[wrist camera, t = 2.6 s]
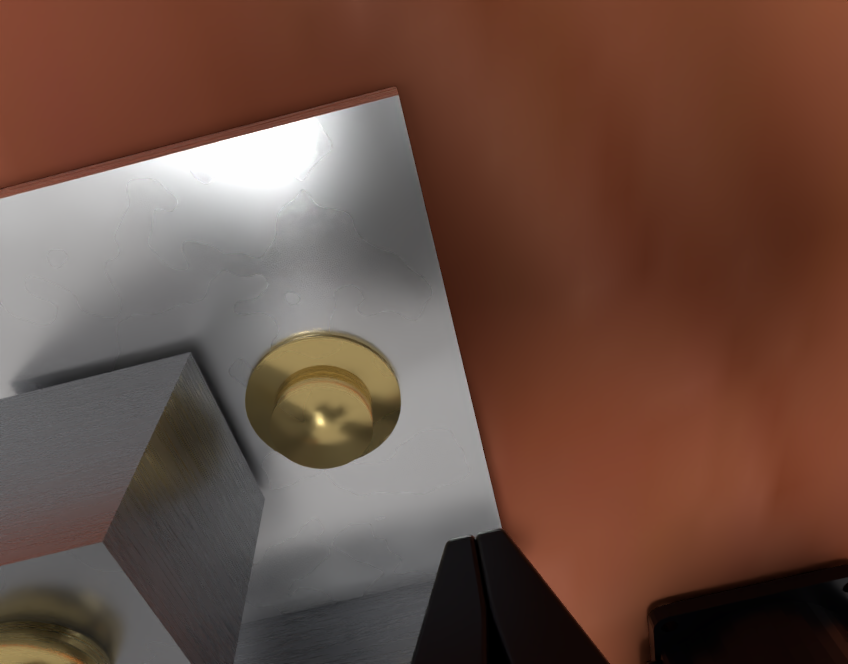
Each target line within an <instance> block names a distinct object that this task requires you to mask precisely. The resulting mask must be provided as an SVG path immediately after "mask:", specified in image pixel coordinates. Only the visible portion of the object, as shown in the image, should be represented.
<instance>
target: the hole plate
mask: <svg viewBox="0 0 848 664" xmlns="http://www.w3.org/2000/svg"><path fill="white" fill-rule="evenodd" d="M189 352H191V353H192V355H193V357H194V359H195V361H196V363H197V365H198V367H199V369H200V371H201V373H202V375H203V377H204V379H205V381H206V383H207V385H208V387H209V389H210V391H211V393H212V395H213V397H214V399H215V401H216V403H217V405H218V407H219V409H220V411H221V413H222V415H223V416H224V418H225V420H226V422H227V424H228V426H229V428H230V430H231V432H232V434H233V436H234V438H235V440H236V442H237V444H238V446H239V448H240V450H241V452H242V454H243V456H244V458H245V460H246V462H247V464H248V466H249V468H250V470H251V472H252V474H253V476H254V478H255V480H256V482H257V484H258V486H259V488H260V490H261V492H262V494H263V496H264V498H265V501H264V507H263V512H262V517H261V522H260V528H259V533H258V538H257V543H256V548H255V554H254V559H253V564H252V569H251V575H250V580H249V585H248V590H247V596H246V601H245V606H244V611H243V617H242V622H241V627H240V632H239V637H238V643H237V648H236V653H235V658H234V664H410V663H411V660H412V656H413V653H414V649H415V646H416V642H417V639H418V636H419V632H420V629H421V625H422V622H423V619H424V615H425V612H426V608H427V605H428V601H429V598H430V595H431V591H432V588H433V584H434V581H435V577H436V574H437V571H438V567H439V564H440V560H441V557H442V553H443V550H444V547H445V544H446V542H447V541H448V540H449V539H452V538H457V537H461V536H466V535H473V536H474V537H475V539H476V535H477V534H478V533H479V532H483V531H487V530H492V529H496V528H502V527H501V522H500V518H499V514H498V510H497V506H496V501H495V497H494V493H493V489H492V485H491V480H490V476H489V472H488V468H487V464H486V459H485V455H484V451H483V447H482V443H481V439H480V434H479V430H478V426H477V422H476V418H475V413H474V409H473V405H472V401H471V397H470V392H469V388H468V384H467V380H466V376H465V371H464V367H463V363H462V359H461V355H460V350H459V346H458V342H457V338H456V334H455V329H454V325H453V321H452V317H451V313H450V308H449V304H448V300H447V296H446V292H445V288H444V283H443V279H442V275H441V271H440V267H439V262H438V258H437V254H436V250H435V246H434V241H433V237H432V233H431V229H430V225H429V220H428V216H427V212H426V208H425V204H424V199H423V195H422V191H421V187H420V183H419V178H418V174H417V170H416V166H415V162H414V157H413V153H412V149H411V145H410V141H409V137H408V132H407V128H406V124H405V120H404V116H403V111H402V107H401V103H400V99H399V95H398V91H397V88H396V86H394V87H390V88H386V89H383V90H379V91H375V92H371V93H367V94H363V95H360V96H356V97H352V98H348V99H344V100H340V101H337V102H333V103H329V104H325V105H321V106H317V107H314V108H310V109H306V110H302V111H298V112H294V113H291V114H287V115H283V116H279V117H275V118H272V119H268V120H264V121H260V122H256V123H252V124H249V125H245V126H241V127H237V128H233V129H229V130H226V131H222V132H218V133H214V134H210V135H206V136H203V137H199V138H195V139H191V140H187V141H183V142H180V143H176V144H172V145H168V146H164V147H160V148H157V149H153V150H149V151H145V152H141V153H138V154H134V155H130V156H126V157H122V158H118V159H115V160H111V161H107V162H103V163H99V164H95V165H92V166H88V167H84V168H80V169H76V170H72V171H69V172H65V173H61V174H57V175H53V176H49V177H46V178H42V179H38V180H34V181H30V182H26V183H23V184H19V185H15V186H11V187H7V188H4V189H0V399H2V398H6V397H11V396H15V395H19V394H23V393H27V392H31V391H35V390H39V389H43V388H47V387H51V386H55V385H59V384H63V383H67V382H71V381H75V380H79V379H83V378H88V377H92V376H96V375H100V374H104V373H108V372H112V371H116V370H120V369H124V368H128V367H132V366H136V365H140V364H144V363H148V362H152V361H156V360H160V359H164V358H169V357H173V356H177V355H181V354H185V353H189Z"/></svg>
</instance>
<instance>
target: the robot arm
mask: <svg viewBox="0 0 848 664" xmlns="http://www.w3.org/2000/svg"><path fill="white" fill-rule="evenodd" d="M648 625H649V639H650V653H651V661H648V662H647V663H646V664H848V565H841V566H837V567H832V568H828V569H823V570H819V571H814V572H810V573H805V574H801V575H796V576H792V577H787V578H783V579H778V580H774V581H769V582H765V583H760V584H756V585H751V586H747V587H742V588H738V589H733V590H729V591H724V592H720V593H716V594H711V595H707V596H702V597H698V598H693V599H689V600H684V601H680V602H675V603H671V604H666V605H662V606H659V607H657V608H655V609H654V610H652V612H651V613H650V614H649V617H648ZM410 664H610V663H609V662H608V660H607V659H606V658H605V657H604V655H603V654H602V653H601V652H600V650H599V649H598V648H597V646H596V645H595V644H594V643H593V641H592V640H591V639H590V638H589V636H588V635H587V634H586V633H585V631H584V630H583V629H582V627H581V626H580V625H579V624H578V622H577V621H576V620H575V619H574V617H573V616H572V615H571V613H570V612H569V611H568V610H567V608H566V607H565V606H564V605H563V603H562V602H561V601H560V599H559V598H558V597H557V596H556V594H555V593H554V592H553V591H552V589H551V588H550V587H549V586H548V584H547V583H546V582H545V580H544V579H543V578H542V577H541V575H540V574H539V573H538V572H537V570H536V569H535V568H534V566H533V565H532V564H531V563H530V561H529V560H528V559H527V558H526V556H525V555H524V554H523V553H522V551H521V550H520V549H519V547H518V546H517V545H516V544H515V542H514V541H513V540H512V539H511V537H510V536H509V535H508V533H507V532H506V531H505V530H504V529H502V528H496V529H492V530H487V531H483V532H479V533H478V534H477V535H476V539H475V537H474V536H473V535H466V536H461V537H457V538H452V539H449V540H448V541H447V542H446V544H445V547H444V550H443V553H442V557H441V560H440V564H439V567H438V571H437V574H436V577H435V581H434V584H433V588H432V591H431V595H430V598H429V601H428V605H427V608H426V612H425V615H424V619H423V622H422V625H421V629H420V632H419V636H418V639H417V642H416V646H415V649H414V653H413V656H412V660H411V663H410Z"/></svg>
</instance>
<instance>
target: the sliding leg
mask: <svg viewBox="0 0 848 664" xmlns="http://www.w3.org/2000/svg"><path fill="white" fill-rule="evenodd" d="M264 501H265V498H264V496H263V494H262V492H261V490H260V488H259V486H258V484H257V482H256V480H255V478H254V476H253V474H252V472H251V470H250V468H249V466H248V464H247V462H246V460H245V458H244V456H243V454H242V452H241V450H240V448H239V446H238V444H237V442H236V440H235V438H234V436H233V434H232V432H231V430H230V428H229V426H228V424H227V422H226V420H225V418H224V416H223V415H222V413H221V411H220V409H219V407H218V405H217V403H216V401H215V399H214V397H213V395H212V393H211V391H210V389H209V387H208V385H207V383H206V381H205V379H204V377H203V375H202V373H201V371H200V369H199V367H198V365H197V363H196V361H195V359H194V357H193V355H192V353H191V352H189V353H185V354H181V355H177V356H173V357H169V358H164V359H160V360H156V361H152V362H148V363H144V364H140V365H136V366H132V367H128V368H124V369H120V370H116V371H112V372H108V373H104V374H100V375H96V376H92V377H88V378H83V379H79V380H75V381H71V382H67V383H63V384H59V385H55V386H51V387H47V388H43V389H39V390H35V391H31V392H27V393H23V394H19V395H15V396H11V397H6V398H2V399H0V664H234V658H235V653H236V648H237V643H238V637H239V632H240V627H241V622H242V617H243V611H244V606H245V601H246V596H247V590H248V585H249V580H250V575H251V569H252V564H253V559H254V554H255V548H256V543H257V538H258V533H259V528H260V522H261V517H262V512H263V507H264Z"/></svg>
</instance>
